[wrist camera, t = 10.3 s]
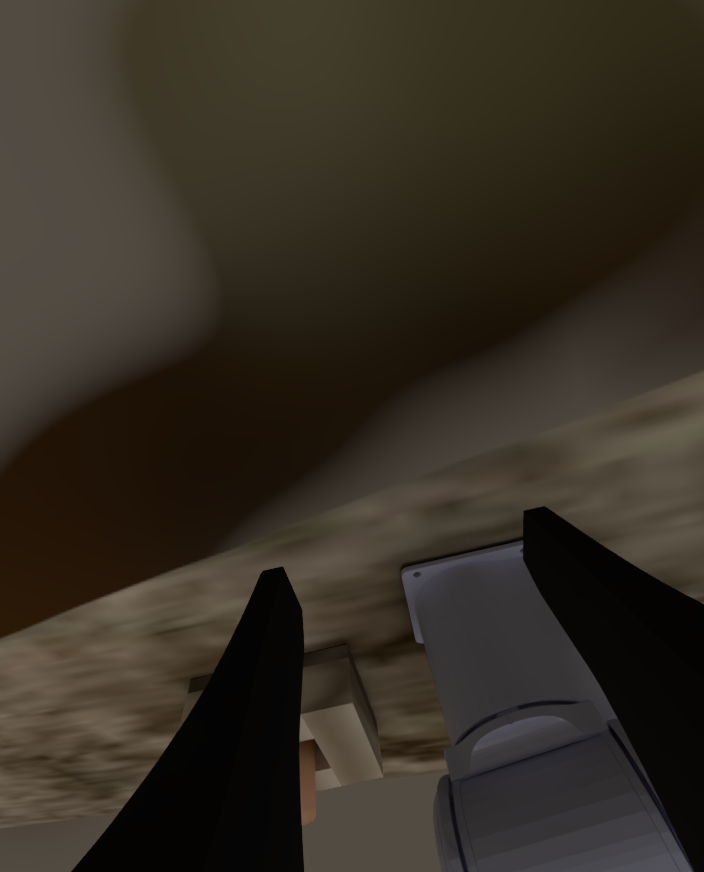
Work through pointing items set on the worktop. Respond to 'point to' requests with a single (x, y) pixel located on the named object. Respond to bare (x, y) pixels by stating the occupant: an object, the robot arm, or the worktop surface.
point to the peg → (307, 780)
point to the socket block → (330, 718)
